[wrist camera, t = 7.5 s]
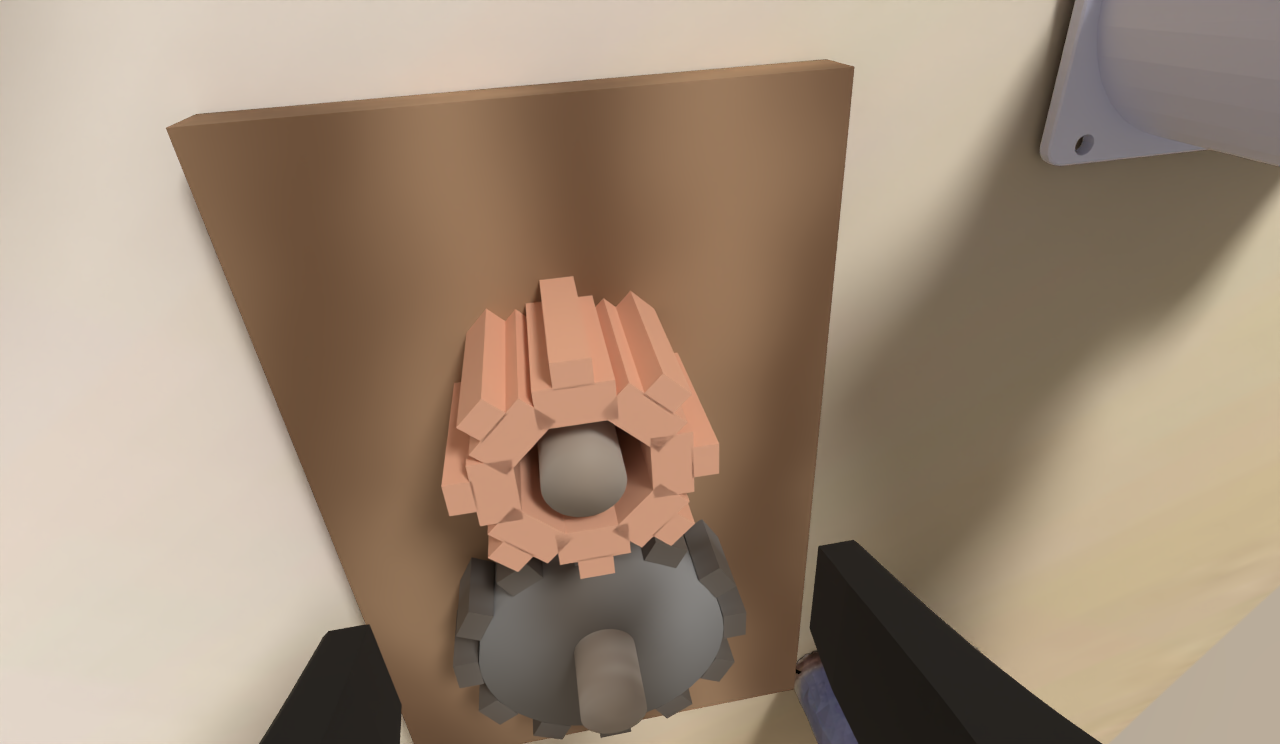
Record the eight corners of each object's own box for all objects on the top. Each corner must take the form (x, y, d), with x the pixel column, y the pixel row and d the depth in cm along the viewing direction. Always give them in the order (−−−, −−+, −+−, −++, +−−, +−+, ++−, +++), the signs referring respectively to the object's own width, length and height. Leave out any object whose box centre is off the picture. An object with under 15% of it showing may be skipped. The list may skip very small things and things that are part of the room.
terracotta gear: (674, 263, 16) (719, 340, 13) (680, 452, 19) (718, 554, 16) (432, 293, 16) (413, 381, 12) (477, 483, 19) (471, 598, 15)
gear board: (826, 58, 16) (959, 95, 11) (780, 655, 27) (837, 796, 23) (195, 114, 14) (46, 182, 10) (426, 724, 26) (408, 891, 21)
